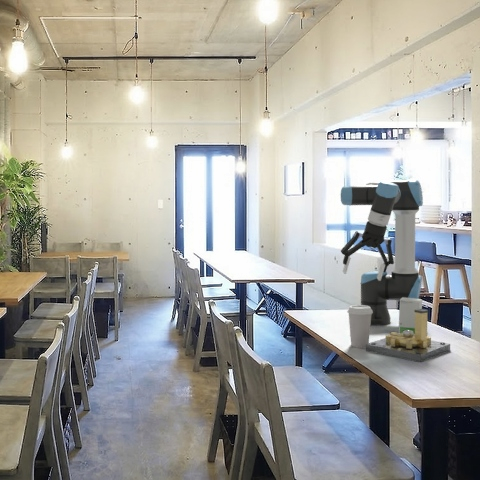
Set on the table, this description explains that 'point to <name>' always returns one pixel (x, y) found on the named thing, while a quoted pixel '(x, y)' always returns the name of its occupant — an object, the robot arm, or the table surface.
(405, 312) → the skincare box
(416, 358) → the steel plate
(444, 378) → the table surface
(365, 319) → the coffee cup
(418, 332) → the brass gear wheel
